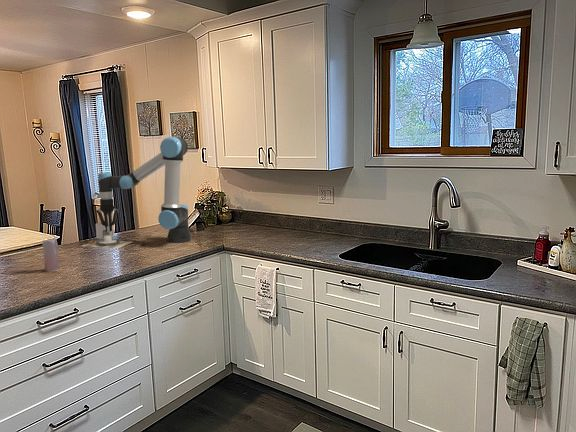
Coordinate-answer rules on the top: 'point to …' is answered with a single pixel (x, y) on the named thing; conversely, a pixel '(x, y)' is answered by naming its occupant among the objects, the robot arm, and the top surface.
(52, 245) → the beverage can
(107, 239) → the dial
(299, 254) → the top surface
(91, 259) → the top surface
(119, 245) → the board
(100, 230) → the mug
